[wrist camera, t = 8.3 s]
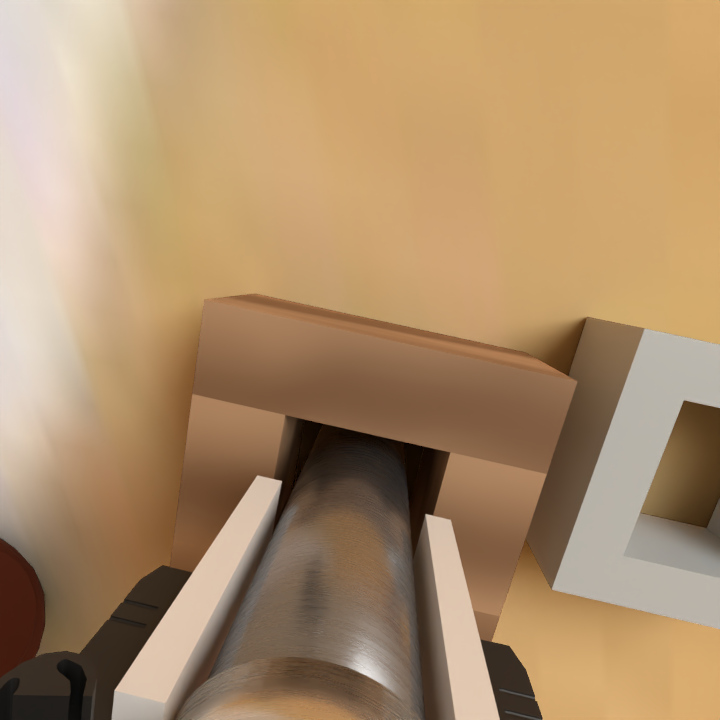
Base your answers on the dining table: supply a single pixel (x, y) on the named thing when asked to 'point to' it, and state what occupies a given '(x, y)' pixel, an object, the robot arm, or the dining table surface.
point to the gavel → (19, 609)
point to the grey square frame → (627, 477)
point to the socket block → (371, 425)
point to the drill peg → (328, 599)
